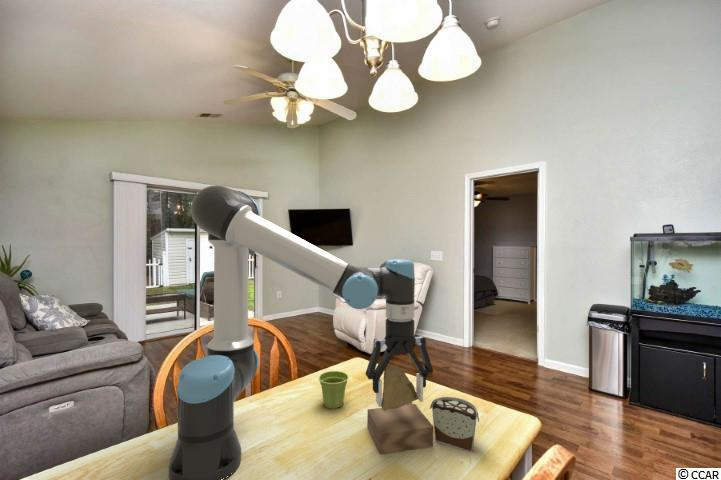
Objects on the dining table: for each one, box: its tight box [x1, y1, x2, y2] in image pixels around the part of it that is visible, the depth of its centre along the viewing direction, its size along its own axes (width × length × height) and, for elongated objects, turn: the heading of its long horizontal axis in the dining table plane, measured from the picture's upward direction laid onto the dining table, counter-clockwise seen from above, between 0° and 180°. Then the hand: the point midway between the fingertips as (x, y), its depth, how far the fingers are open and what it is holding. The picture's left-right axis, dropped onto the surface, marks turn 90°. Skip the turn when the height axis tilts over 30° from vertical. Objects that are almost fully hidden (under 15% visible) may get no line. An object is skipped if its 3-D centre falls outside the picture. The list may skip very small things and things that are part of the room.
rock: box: [381, 364, 418, 411], centre depth 91 cm, size 11×9×10 cm
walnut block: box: [366, 403, 434, 455], centre depth 91 cm, size 14×12×5 cm
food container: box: [429, 396, 480, 454], centre depth 90 cm, size 12×6×10 cm, turn 59°
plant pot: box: [318, 370, 350, 409], centre depth 108 cm, size 9×9×9 cm
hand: (399, 401), depth 91 cm, fingers closed on rock, 11 cm apart
